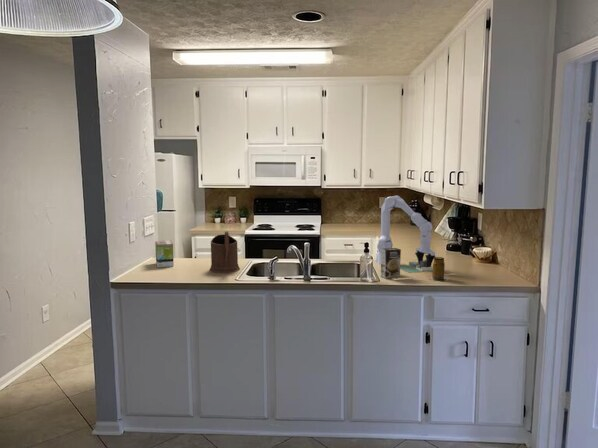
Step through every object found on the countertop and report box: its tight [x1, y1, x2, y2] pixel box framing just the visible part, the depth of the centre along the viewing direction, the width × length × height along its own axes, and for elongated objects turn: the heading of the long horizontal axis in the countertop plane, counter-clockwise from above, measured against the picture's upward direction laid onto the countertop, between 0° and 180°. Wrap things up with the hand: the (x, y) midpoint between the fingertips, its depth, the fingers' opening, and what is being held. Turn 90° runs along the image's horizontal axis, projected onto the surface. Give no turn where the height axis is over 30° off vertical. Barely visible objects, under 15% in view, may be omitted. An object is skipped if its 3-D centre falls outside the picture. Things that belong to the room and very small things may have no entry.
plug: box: [420, 259, 427, 269], centre depth 257 cm, size 3×5×6 cm
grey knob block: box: [408, 260, 420, 268], centre depth 267 cm, size 7×7×2 cm
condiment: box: [430, 256, 450, 282], centre depth 238 cm, size 7×8×12 cm
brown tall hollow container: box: [209, 230, 241, 274], centre depth 260 cm, size 18×24×25 cm
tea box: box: [154, 240, 175, 268], centre depth 277 cm, size 15×10×15 cm, turn 22°
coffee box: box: [380, 247, 402, 280], centre depth 243 cm, size 9×6×16 cm
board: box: [400, 264, 433, 274], centre depth 260 cm, size 17×18×3 cm
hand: (424, 265), depth 257 cm, fingers open, 7 cm apart
